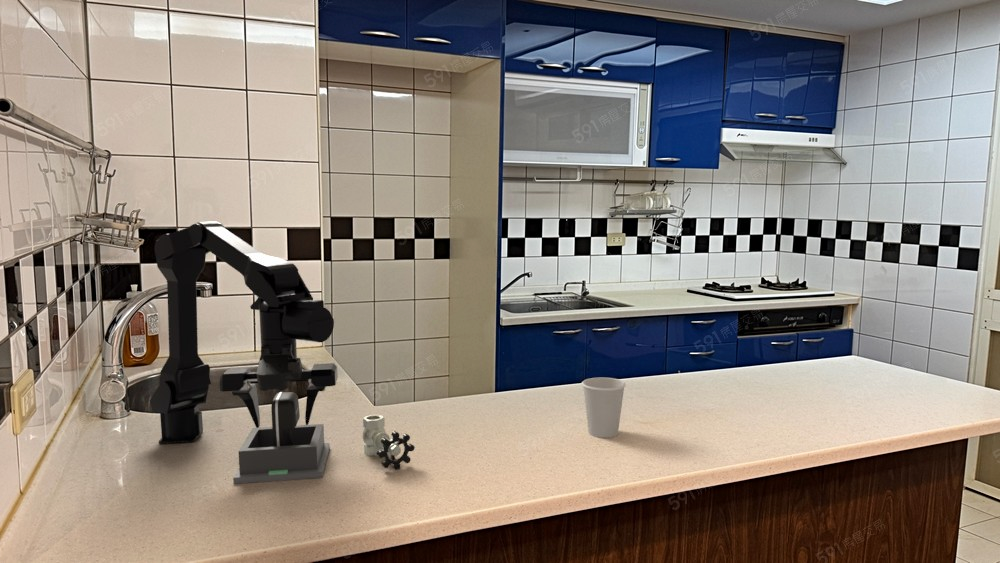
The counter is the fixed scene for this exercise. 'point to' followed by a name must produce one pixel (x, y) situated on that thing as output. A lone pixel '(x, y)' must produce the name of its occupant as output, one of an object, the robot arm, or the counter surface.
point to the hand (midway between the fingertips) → (282, 425)
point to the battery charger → (284, 417)
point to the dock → (282, 455)
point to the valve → (384, 442)
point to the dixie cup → (603, 405)
